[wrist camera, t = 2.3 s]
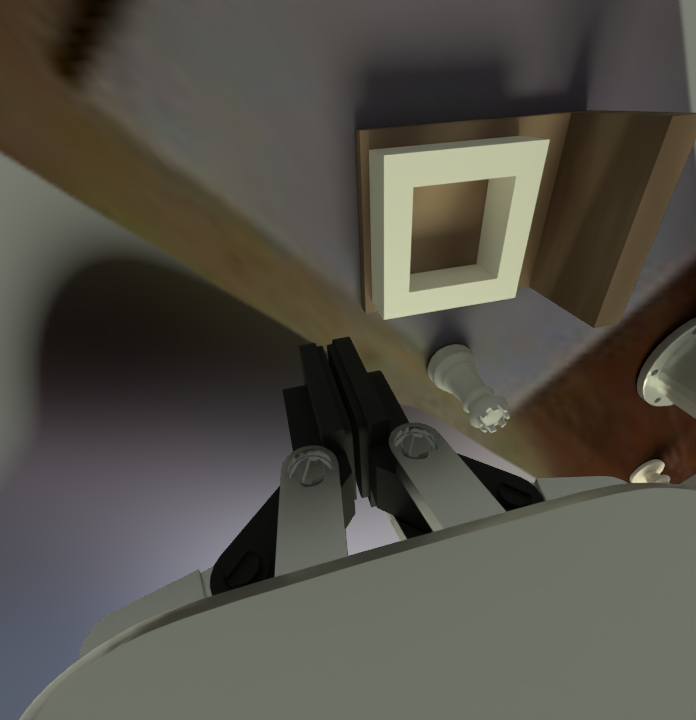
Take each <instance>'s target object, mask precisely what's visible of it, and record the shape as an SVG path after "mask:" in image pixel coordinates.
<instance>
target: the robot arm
mask: <svg viewBox="0 0 696 720" xmlns="http://www.w3.org/2000/svg"><path fill="white" fill-rule="evenodd" d="M327 352H328V360H327V357H326V354H325V352H324V349H323V346H319V347H316V344H315V343H311V344H305V345H300V346H299V354H300V360H301V367H302V373H303V379H304V385H303V386H299V387H294V388H288V389H284V390H283V395H284V400H285V407H286V412H287V417H288V424H289V430H290V436H291V442H292V448H293V452H292V453H291V454H290V455H288V456H287V458H286V459H285V461H284V462H283V465H282V469H281V479H280V486H279V487H278V489H277V490H276V491H275V492H274V493H273V495H272V496H271V497H270V498H269V499H268V500H267V502H266V503H265V504H264V505H263V506H262V508H261V509H260V510H259V511H258V512H257V514H256V515H255V516H254V517H253V518H252V519H251V520H250V522H249V523H248V524H247V525H246V526H245V527H244V529H243V530H242V531H241V532H240V533H239V535H238V536H237V537H236V538H235V539H234V541H233V542H232V543H231V544H230V545H229V546H228V548H227V549H226V550H225V551H224V552H223V554H222V555H221V556H220V557H219V559H218V560H217V562H216V563H215V565H214V566H213V567H211V568H209V569H208V570H206V571H204V572H202V573H200V571H199V570H197V571H194V572H192V573H190V574H189V575H187V576H184V577H182V578H180V579H178V580H176V581H174V582H172V583H170V584H168V585H166V586H164V587H162V588H160V589H158V590H156V591H154V592H152V593H150V594H148V595H146V596H144V597H142V598H140V599H138V600H136V601H134V602H132V603H130V604H129V605H126V606H124V607H122V608H120V609H118V610H116V611H114V612H112V613H111V614H109V615H108V616H106V617H105V618H103V619H102V620H100V621H99V622H98V624H97V625H96V626H95V627H94V628H93V629H92V630H91V631H90V632H89V634H88V636H87V637H86V639H85V641H84V643H83V644H82V646H81V650H80V654H79V658H78V661H77V662H76V663H74V664H73V665H71V666H70V667H69V668H68V669H67V670H65V671H64V672H63V673H62V674H61V675H60V676H58V677H57V678H56V679H55V680H54V681H53V682H51V683H50V684H49V685H48V686H47V687H46V688H45V689H44V690H43V691H42V692H41V693H40V694H39V695H38V696H37V697H36V698H35V700H34V701H33V702H32V703H31V704H30V706H29V707H28V708H27V709H26V711H25V712H24V714H23V715H22V716H21V718H20V719H19V720H696V487H690V486H685V485H678V484H668V483H627V482H625V481H623V480H620V479H617V478H614V477H607V476H595V477H567V478H539V479H536V480H535V483H530V482H529V481H527V480H525V479H523V478H521V477H519V476H516V475H514V474H511V473H508V472H506V471H503V470H500V469H498V468H495V467H492V466H490V465H487V464H484V463H482V462H479V461H476V460H474V459H471V458H468V457H466V456H463V455H460V454H457V453H456V452H455V451H454V450H453V449H452V447H451V446H450V445H449V444H448V443H447V442H446V440H445V439H444V438H443V437H442V436H441V435H440V433H438V432H437V431H436V430H435V429H434V428H432V427H430V426H427V425H426V424H421V423H409V421H408V419H407V418H406V416H405V414H404V412H403V410H402V408H401V407H400V405H399V403H398V401H397V399H396V397H395V396H394V394H393V392H392V390H391V388H390V386H389V384H388V383H387V381H386V379H385V377H384V375H383V374H382V372H381V371H374V372H369V373H367V371H366V369H365V367H364V365H363V363H362V361H361V359H360V357H359V355H358V353H357V351H356V349H355V347H354V345H353V343H352V341H351V339H350V337H344V338H339V339H333V340H332V344H330V345H327ZM328 362H329V363H328ZM637 391H638V394H639V395H640V397H641V398H643V399H644V400H645V401H646V402H648V403H649V404H651V405H655V406H668V405H672V404H675V405H677V406H678V407H680V408H681V409H682V410H684V411H685V412H687V413H688V414H690V415H691V416H693V417H694V418H695V419H696V317H695V318H693V319H691V320H689V321H688V322H686V323H685V324H683V325H682V326H680V327H679V328H677V329H676V330H675V331H674V332H672V333H671V334H670V335H669V336H667V337H666V338H665V339H664V340H663V341H662V342H661V343H660V344H659V345H658V346H657V347H656V349H655V350H654V351H653V352H652V353H651V355H650V356H649V357H648V359H647V360H646V362H645V363H644V365H643V367H642V369H641V371H640V374H639V377H638V381H637ZM355 479H356V481H355ZM356 483H357V486H358V488H359V492H360V495H361V497H362V498H364V497H368V499H369V502H370V505H371V507H374V506H377V508H379V509H381V510H383V511H385V512H387V513H388V516H389V519H390V521H391V524H392V525H393V527H394V529H395V531H396V533H397V535H398V536H399V538H400V540H401V541H399V542H396V543H392V544H389V545H385V546H382V547H378V548H375V549H371V550H368V551H364V552H361V553H357V554H354V555H350V556H348V550H347V540H346V530H345V529H346V527H347V526H348V524H349V523H350V521H351V520H352V517H353V516H354V515H355V503H354V500H356V499H357V496H356Z"/></svg>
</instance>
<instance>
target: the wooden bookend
mask: <svg viewBox="0 0 696 720" xmlns="http://www.w3.org/2000/svg"><path fill="white" fill-rule="evenodd" d="M355 131H356V157H357V183H358V209H359V235H360V262H361V288H362V309H363V310H364V312H365V314H369V313H375V312H379V311H378V310H377V308H376V307H375V305H374V304H373V302H372V273H371V225H370V178H369V150H373V149H384V148H394V147H405V146H416V145H426V144H437V143H448V142H458V141H469V140H480V139H490V138H501V137H512V136H526V137H535V138H543V139H550V142H549V146H548V151H547V155H546V160H545V164H544V169H543V173H542V178H541V182H540V187H539V191H538V196H537V200H536V205H535V209H534V214H533V219H532V223H531V228H530V232H529V237H528V241H527V246H526V250H525V255H524V259H523V264H522V268H521V273H520V277H519V282H518V287H517V289H520V288H526V287H530V288H532V289H533V290H535V291H537V292H538V293H540V294H541V295H543V296H544V297H546V298H548V299H549V300H551V301H552V302H554V303H555V304H557V305H559V306H560V307H562V308H563V309H565V310H566V311H568V312H570V313H571V314H573V315H574V316H576V317H577V318H579V319H581V320H582V321H584V322H585V323H587V324H588V325H590V326H592V327H593V328H596V327H601V326H607V325H612V324H617V323H619V322H620V320H621V318H622V315H623V313H624V310H625V308H626V305H627V303H628V301H629V298H630V296H631V293H632V291H633V289H634V286H635V284H636V281H637V279H638V277H639V274H640V272H641V269H642V267H643V264H644V262H645V260H646V257H647V255H648V252H649V250H650V248H651V245H652V243H653V240H654V238H655V236H656V233H657V231H658V228H659V226H660V224H661V221H662V219H663V216H664V214H665V211H666V209H667V207H668V204H669V202H670V199H671V197H672V195H673V192H674V190H675V187H676V185H677V183H678V180H679V178H680V175H681V173H682V170H683V168H684V166H685V163H686V161H687V158H688V156H689V154H690V151H691V149H692V146H693V144H694V142H695V139H696V113H685V112H640V111H596V110H584V111H573V112H561V113H549V114H537V115H525V116H513V117H502V118H490V119H478V120H466V121H454V122H442V123H430V124H419V125H407V126H395V127H383V128H371V129H359V130H355ZM488 181H489V179H483V180H475V181H466V182H457V183H448V184H439V185H430V186H421V187H413V210H412V234H411V259H410V274H414V273H420V272H427V271H434V270H440V269H447V268H454V267H460V266H467V265H473V264H476V263H477V256H478V249H479V242H480V236H481V229H482V222H483V215H484V208H485V202H486V195H487V188H488Z"/></svg>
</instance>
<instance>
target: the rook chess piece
mask: <svg viewBox="0 0 696 720" xmlns="http://www.w3.org/2000/svg"><path fill="white" fill-rule="evenodd" d="M478 372H479V369H478V363H477V360H476V358H475V356H474V354H472V353H471V351H470V349H469V348H467V347H466V346H464V345H457V344H453V345H449V346H445V347H443V348H441V349H440V350H438V351H437V352H436V353H435V354H434V355H433V356H432V358H431V360H430V363H429V365H428V376H429V377H430V379H431V381H433V382H434V383H435V385H436V386H437V387H439V388H440V389H442V390H444V391H447V392H449V393H452V394H454V395H455V396H456V397H457V398H458V399H459V400H460V401H461V403H462V407H463V409H464V411H466V412H468V413H469V422H470V424H471V425H472V426H474V427H476V428H480V429H481V431H483V432H485V433H486V432H487V429H488V430H489V431H490V432H491V433H492V432H495V431H497V430H496V428H495V426H496V425H498V424H499V425H500V426H501V427H504V426H505V425H506V424H507V423H506V422H505V421H504V418H506V419H510V413H509V412H508V411H509V410H508V409H507V405H508V404H507V401H506V399H505V398H503V397H501V396H494V391H493V389H492V388H490V387H488V386H486V385H485V384H484V382H483V381H482V379H481V378H480V376H479V374H478Z"/></svg>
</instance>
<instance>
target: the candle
mask: <svg viewBox="0 0 696 720" xmlns="http://www.w3.org/2000/svg"><path fill="white" fill-rule="evenodd" d="M663 468H664V463H663V462H662V461H661V460H658V459H655V460H650V461H648V462H646V463H644V464H642V465H641V466H639V467H638V468H637V469H636V470H635V471H634V472H633V473H632V474H631V476H630V482H631V483H647V482H648V483H668V484H670V483H669V481H670V477H669V476H667V475H661V476H660V473H661V472H662V470H663Z"/></svg>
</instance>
